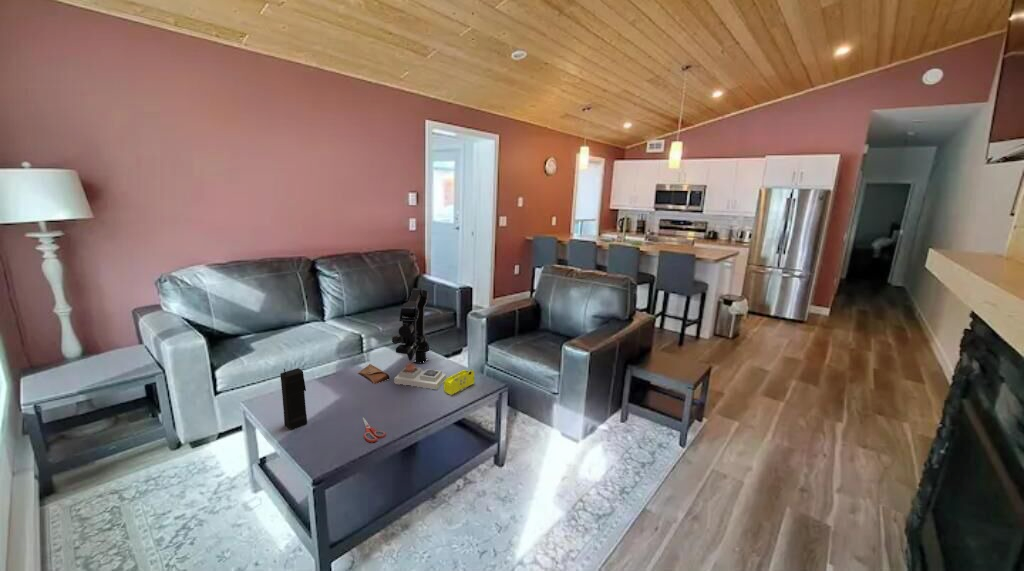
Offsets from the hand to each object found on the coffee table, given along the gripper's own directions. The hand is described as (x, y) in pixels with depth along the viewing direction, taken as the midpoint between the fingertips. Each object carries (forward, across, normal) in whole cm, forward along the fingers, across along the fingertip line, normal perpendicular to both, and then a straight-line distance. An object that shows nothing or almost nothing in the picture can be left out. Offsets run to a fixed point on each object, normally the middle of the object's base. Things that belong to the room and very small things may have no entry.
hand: (410, 360), depth 205 cm
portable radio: (+10, +49, -25) cm, 56 cm away
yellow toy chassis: (+11, +1, +26) cm, 28 cm away
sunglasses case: (+11, +2, -20) cm, 23 cm away
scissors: (+11, +44, +3) cm, 46 cm away
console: (+10, 0, +5) cm, 12 cm away
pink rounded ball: (+5, 0, 0) cm, 5 cm away
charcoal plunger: (+7, 0, +11) cm, 13 cm away
